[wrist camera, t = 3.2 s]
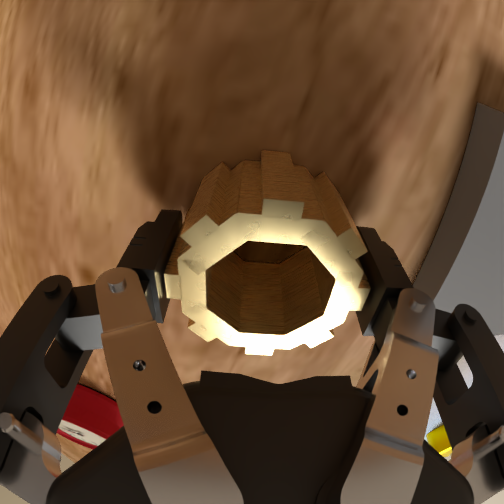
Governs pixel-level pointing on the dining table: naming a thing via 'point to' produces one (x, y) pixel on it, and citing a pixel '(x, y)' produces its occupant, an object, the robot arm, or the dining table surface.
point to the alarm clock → (90, 418)
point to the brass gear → (267, 274)
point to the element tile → (440, 441)
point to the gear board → (472, 229)
